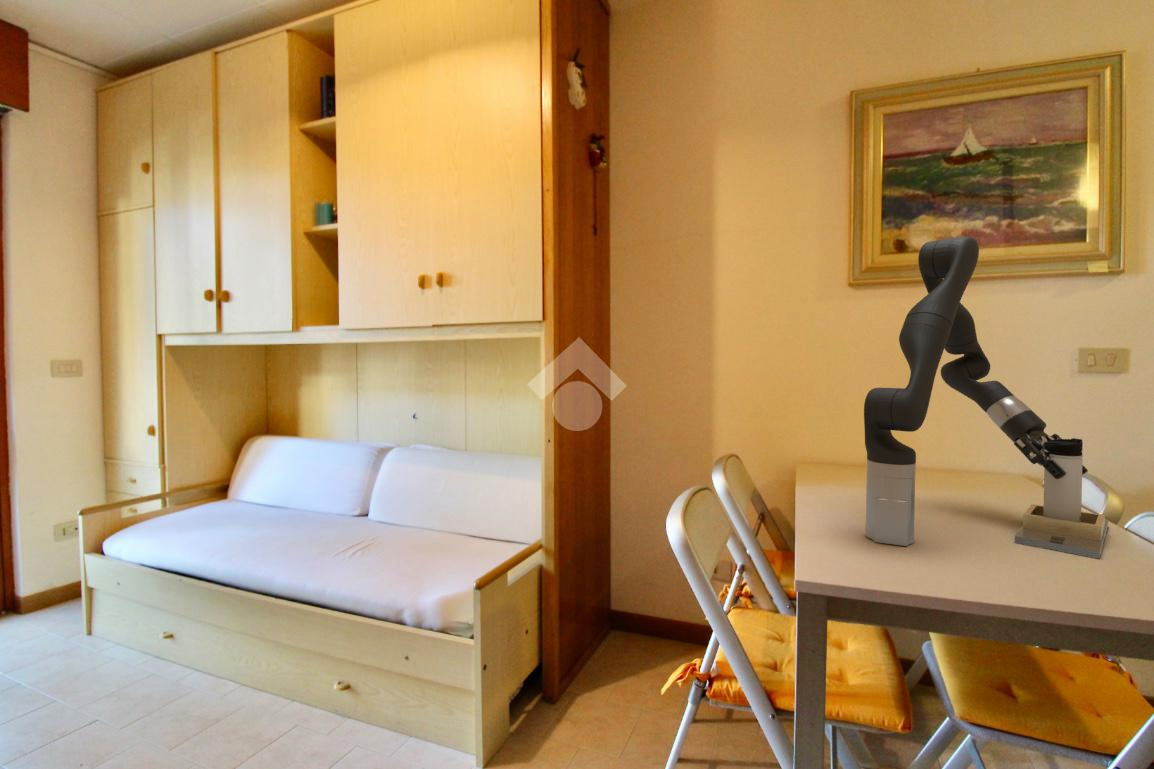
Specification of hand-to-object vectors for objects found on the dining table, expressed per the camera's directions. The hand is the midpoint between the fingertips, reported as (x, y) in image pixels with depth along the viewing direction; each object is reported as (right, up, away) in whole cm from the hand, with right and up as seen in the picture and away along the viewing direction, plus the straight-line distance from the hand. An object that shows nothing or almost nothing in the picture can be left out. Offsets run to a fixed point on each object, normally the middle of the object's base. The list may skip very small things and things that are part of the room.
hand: (1072, 475), depth 117 cm
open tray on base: (-1, -14, +2) cm, 14 cm away
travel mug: (-1, -12, +2) cm, 12 cm away
